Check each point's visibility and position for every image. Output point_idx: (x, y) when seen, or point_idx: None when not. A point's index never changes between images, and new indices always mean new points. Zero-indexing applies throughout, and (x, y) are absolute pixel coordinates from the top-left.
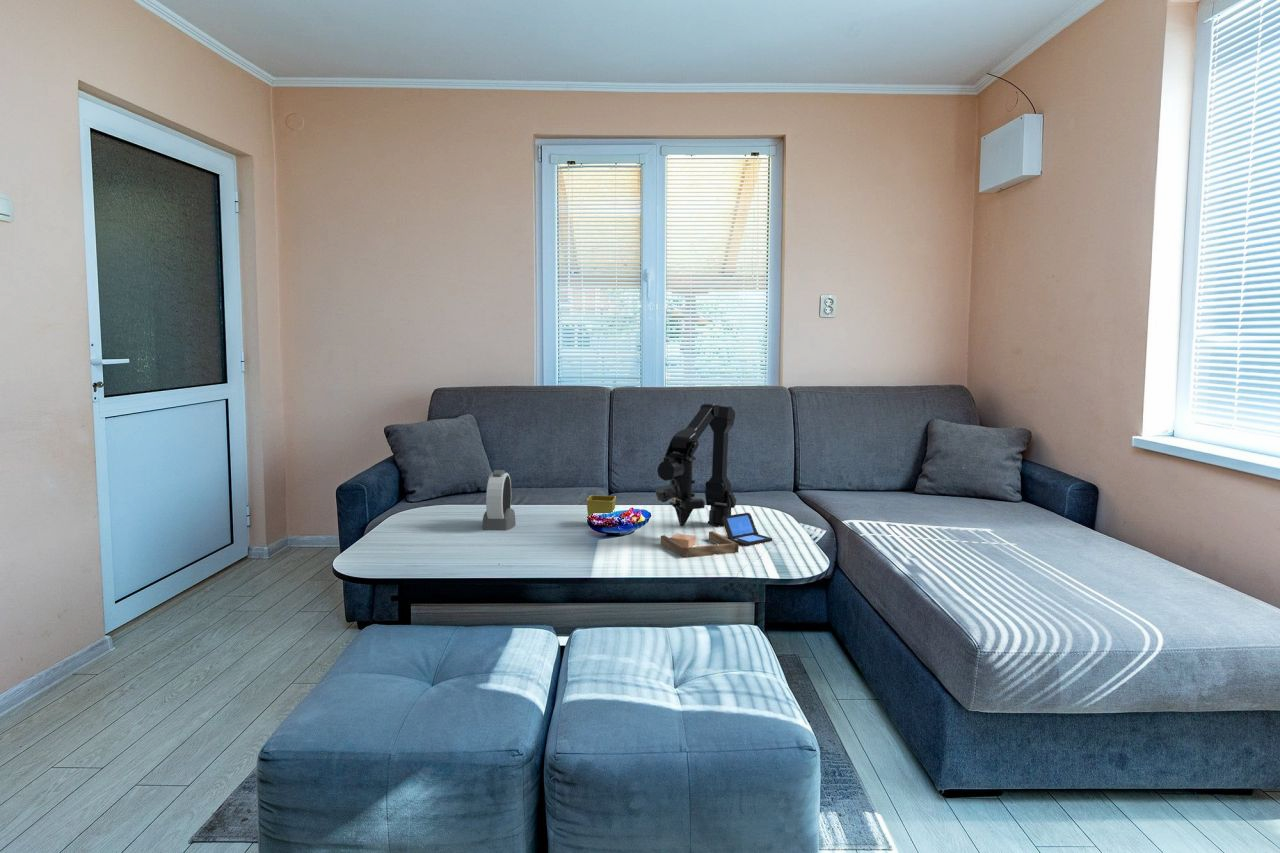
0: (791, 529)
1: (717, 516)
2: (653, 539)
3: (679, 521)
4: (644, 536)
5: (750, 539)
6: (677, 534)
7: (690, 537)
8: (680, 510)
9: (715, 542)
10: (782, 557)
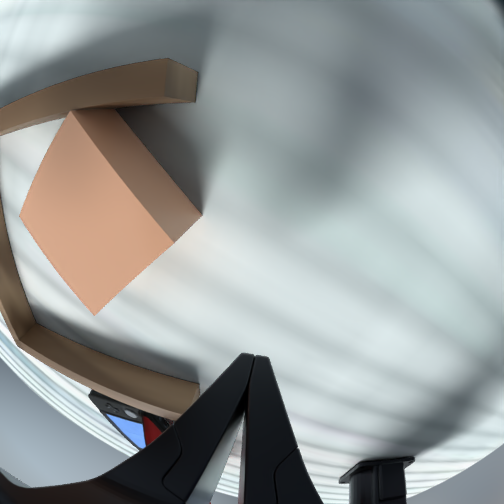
0: (236, 495)
1: (370, 489)
2: (360, 91)
3: (251, 387)
4: (464, 97)
5: (130, 430)
6: (137, 225)
7: (58, 261)
8: (82, 481)
9: (135, 367)
10: (22, 363)
